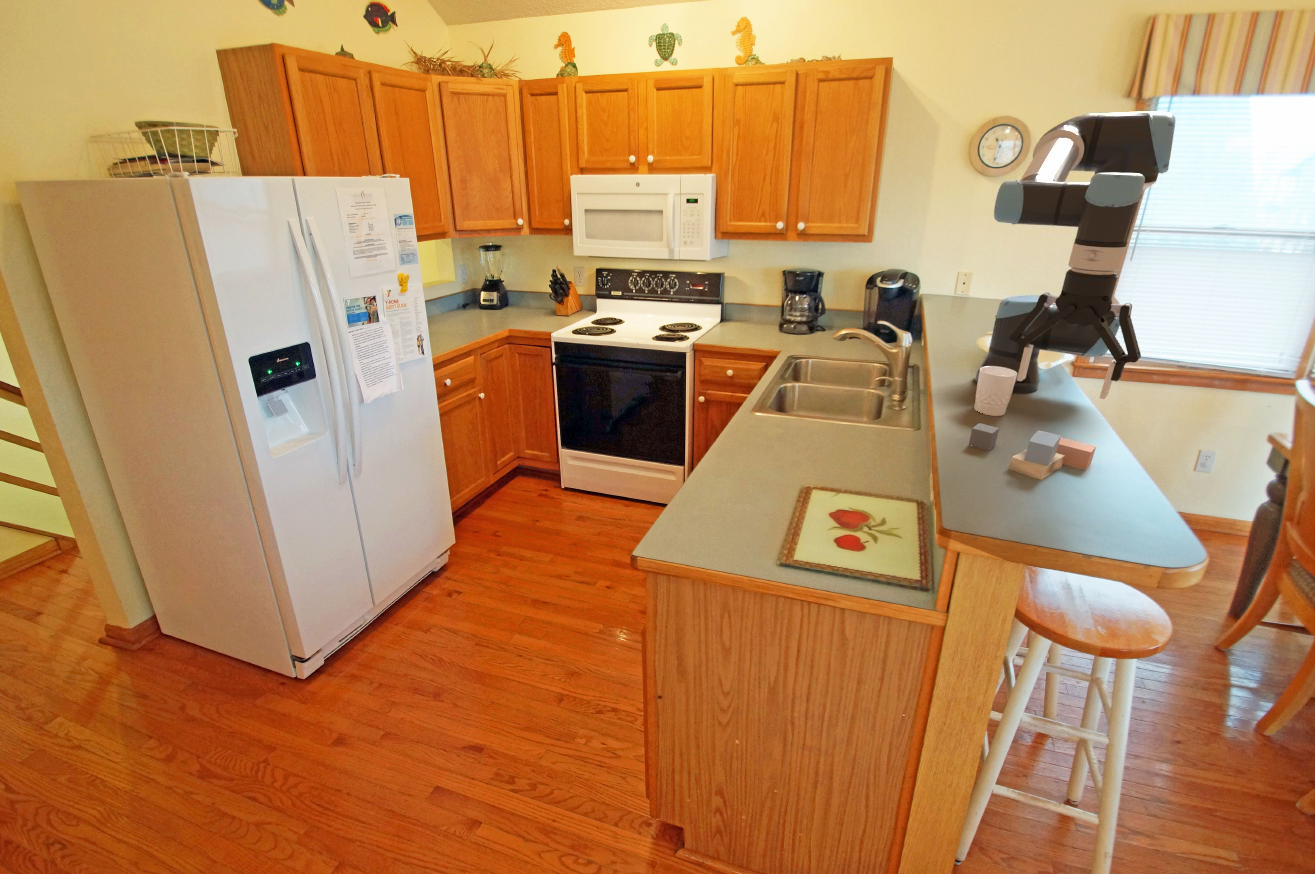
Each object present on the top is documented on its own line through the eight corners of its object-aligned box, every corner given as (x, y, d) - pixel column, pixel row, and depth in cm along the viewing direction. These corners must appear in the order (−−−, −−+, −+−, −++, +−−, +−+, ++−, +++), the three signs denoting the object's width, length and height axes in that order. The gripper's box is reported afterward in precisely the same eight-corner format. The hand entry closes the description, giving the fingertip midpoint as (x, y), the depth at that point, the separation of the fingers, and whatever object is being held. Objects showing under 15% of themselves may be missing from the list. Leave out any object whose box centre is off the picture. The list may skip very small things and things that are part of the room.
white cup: (1012, 418, 149) (1022, 377, 145) (975, 415, 151) (984, 375, 147) (1002, 406, 156) (1011, 367, 152) (967, 404, 158) (976, 364, 154)
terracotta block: (1045, 460, 129) (1050, 441, 128) (1051, 454, 132) (1056, 436, 130) (1085, 471, 125) (1091, 452, 123) (1090, 464, 127) (1096, 446, 126)
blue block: (1032, 448, 128) (1037, 430, 126) (1055, 454, 125) (1061, 435, 124) (1024, 460, 123) (1029, 440, 121) (1047, 466, 120) (1053, 446, 119)
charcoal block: (975, 440, 138) (979, 422, 136) (995, 445, 135) (999, 428, 134) (968, 445, 135) (972, 428, 134) (988, 451, 133) (992, 433, 131)
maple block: (1029, 458, 130) (1032, 445, 129) (1060, 469, 126) (1064, 455, 125) (1008, 470, 125) (1011, 457, 124) (1040, 482, 121) (1044, 467, 120)
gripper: (1007, 264, 115) (983, 377, 124) (1179, 283, 99) (1137, 410, 108) (1021, 259, 120) (996, 368, 129) (1186, 276, 104) (1146, 399, 113)
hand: (1060, 387), depth 119 cm, fingers open, 13 cm apart
